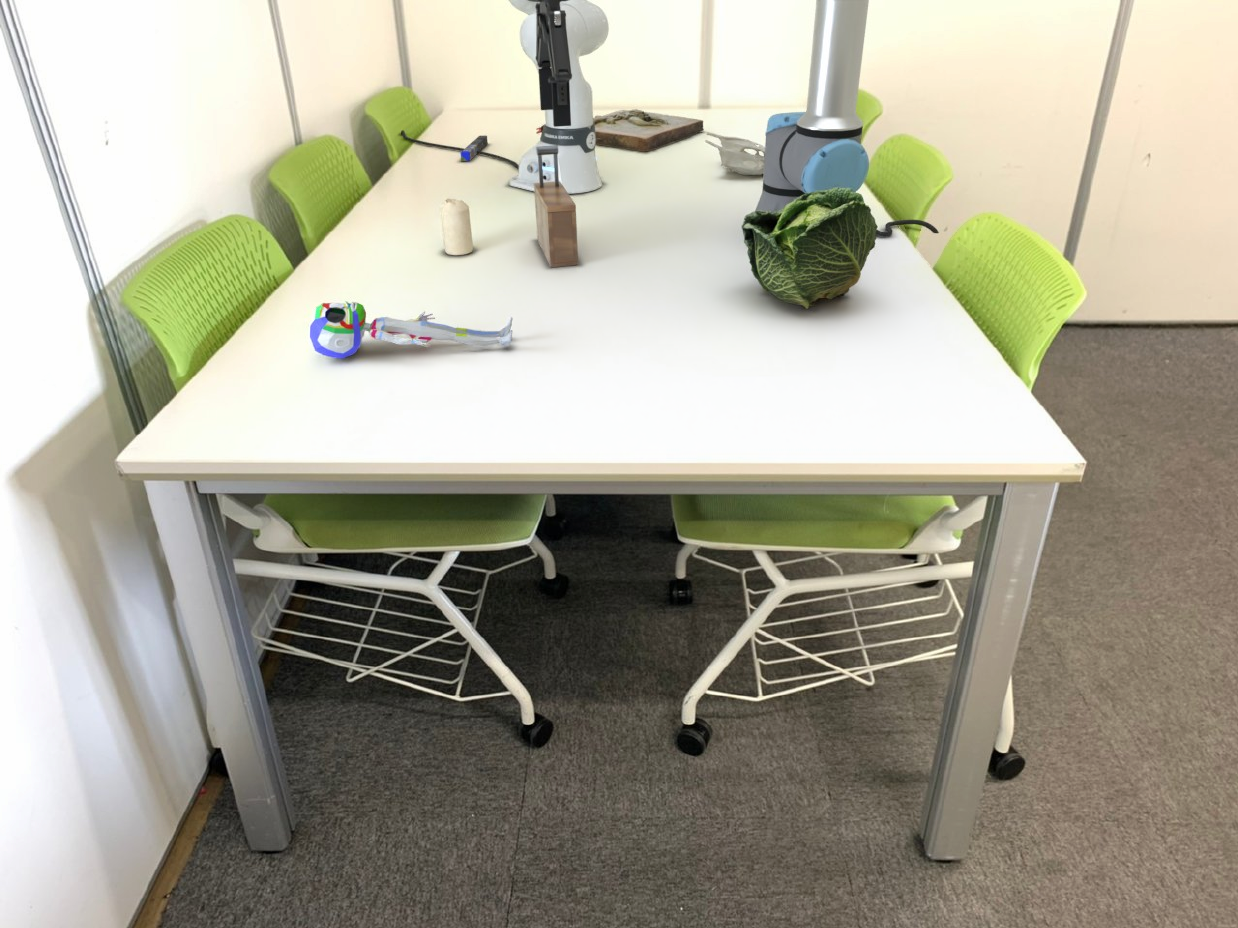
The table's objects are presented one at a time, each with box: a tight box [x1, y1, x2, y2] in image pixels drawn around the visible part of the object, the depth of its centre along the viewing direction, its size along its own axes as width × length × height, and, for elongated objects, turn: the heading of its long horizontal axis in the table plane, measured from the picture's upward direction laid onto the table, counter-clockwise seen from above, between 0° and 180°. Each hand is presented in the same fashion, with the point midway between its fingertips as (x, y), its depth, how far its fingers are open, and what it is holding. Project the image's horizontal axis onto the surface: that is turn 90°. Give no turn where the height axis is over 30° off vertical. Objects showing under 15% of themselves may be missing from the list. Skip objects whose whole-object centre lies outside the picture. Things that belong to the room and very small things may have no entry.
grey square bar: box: [460, 135, 489, 162], centre depth 244 cm, size 2×2×20 cm
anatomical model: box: [705, 131, 765, 176], centre depth 220 cm, size 15×9×25 cm
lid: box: [534, 145, 577, 213], centre depth 167 cm, size 17×5×9 cm, turn 13°
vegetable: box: [741, 187, 878, 310], centre depth 148 cm, size 20×19×20 cm
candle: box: [439, 198, 474, 256], centre depth 173 cm, size 6×6×10 cm
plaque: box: [593, 108, 705, 152], centre depth 257 cm, size 30×7×30 cm
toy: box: [307, 300, 513, 360], centre depth 136 cm, size 10×8×30 cm
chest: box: [533, 190, 579, 268], centre depth 172 cm, size 16×5×10 cm, turn 13°
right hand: (555, 117), depth 149 cm, fingers open, 13 cm apart
